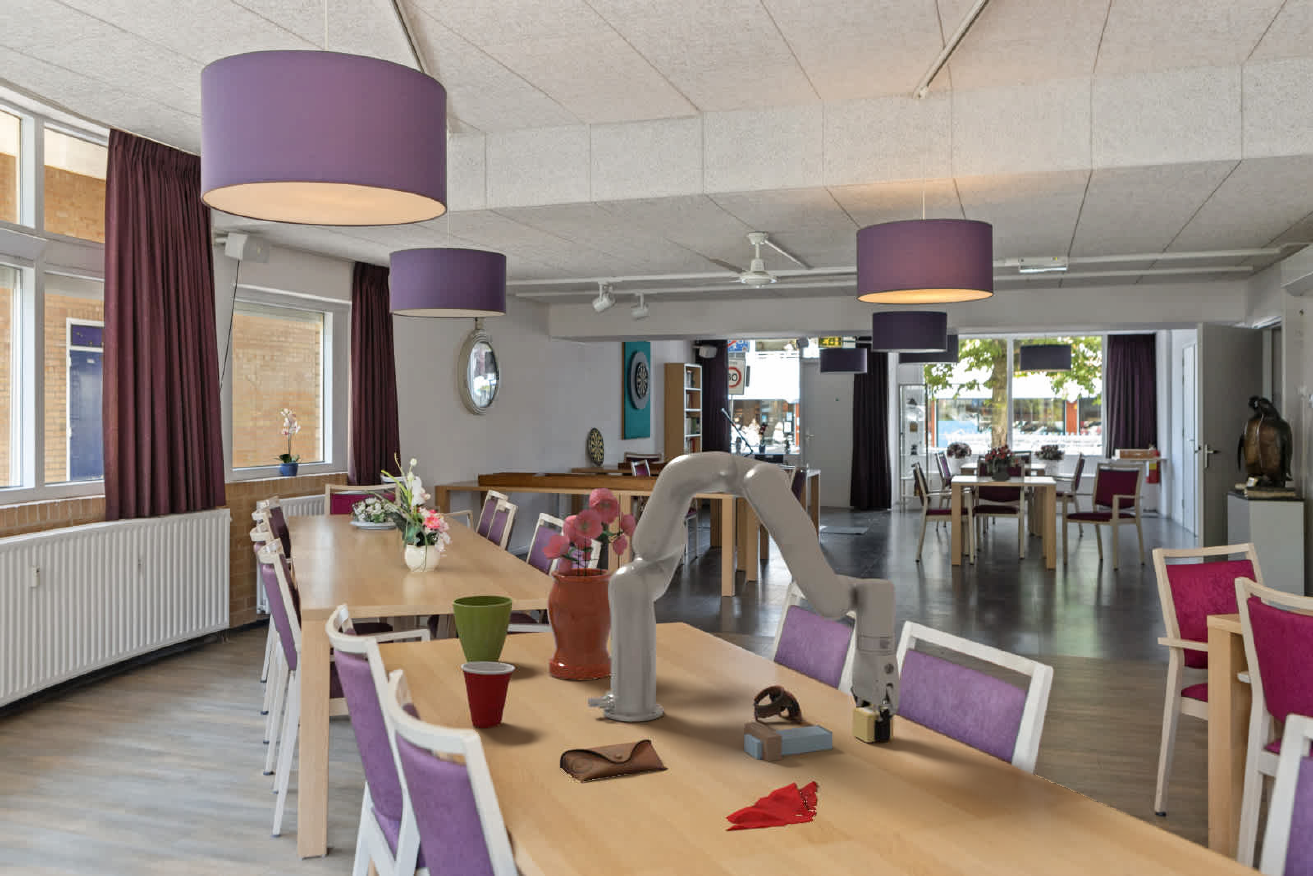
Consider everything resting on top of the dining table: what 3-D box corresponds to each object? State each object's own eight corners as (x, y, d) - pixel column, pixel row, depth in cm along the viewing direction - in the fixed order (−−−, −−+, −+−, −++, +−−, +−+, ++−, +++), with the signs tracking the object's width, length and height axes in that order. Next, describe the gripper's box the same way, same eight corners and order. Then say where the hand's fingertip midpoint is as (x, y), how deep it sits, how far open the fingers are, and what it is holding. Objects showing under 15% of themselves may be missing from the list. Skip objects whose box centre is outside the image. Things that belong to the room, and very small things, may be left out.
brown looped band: (808, 731, 202) (791, 698, 200) (766, 749, 204) (748, 716, 202) (802, 699, 214) (785, 668, 212) (762, 717, 215) (745, 686, 214)
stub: (867, 742, 193) (867, 715, 192) (852, 734, 197) (852, 708, 197) (893, 739, 195) (893, 711, 195) (878, 731, 199) (878, 705, 199)
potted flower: (652, 672, 246) (653, 488, 246) (567, 689, 230) (568, 492, 229) (605, 658, 261) (607, 484, 260) (522, 673, 244) (523, 488, 244)
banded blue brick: (762, 762, 182) (762, 738, 182) (739, 747, 190) (739, 724, 190) (838, 752, 188) (838, 728, 188) (812, 737, 196) (813, 715, 196)
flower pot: (484, 674, 243) (485, 608, 243) (439, 665, 251) (439, 601, 251) (524, 661, 256) (524, 599, 256) (480, 654, 264) (480, 593, 264)
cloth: (748, 848, 147) (748, 833, 147) (688, 818, 158) (688, 804, 157) (866, 807, 163) (866, 793, 163) (804, 782, 174) (804, 769, 173)
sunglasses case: (576, 784, 170) (569, 744, 173) (563, 793, 175) (557, 755, 178) (671, 768, 178) (663, 731, 181) (656, 778, 183) (648, 741, 186)
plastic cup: (525, 723, 204) (525, 664, 204) (482, 735, 196) (482, 674, 196) (492, 712, 211) (492, 655, 211) (449, 723, 203) (449, 664, 203)
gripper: (917, 651, 189) (916, 747, 190) (866, 633, 205) (864, 722, 205) (884, 654, 186) (883, 751, 187) (834, 635, 202) (833, 725, 203)
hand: (873, 735), depth 196 cm, fingers closed on stub, 5 cm apart
